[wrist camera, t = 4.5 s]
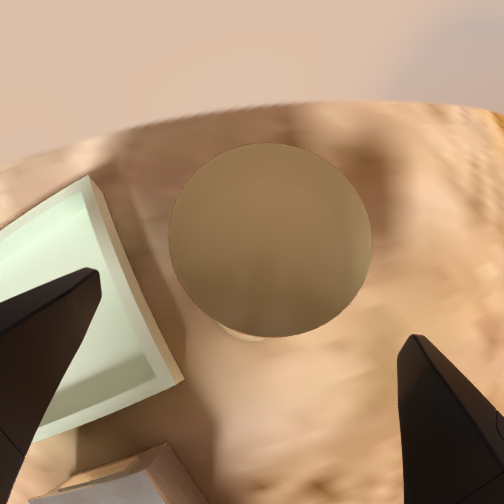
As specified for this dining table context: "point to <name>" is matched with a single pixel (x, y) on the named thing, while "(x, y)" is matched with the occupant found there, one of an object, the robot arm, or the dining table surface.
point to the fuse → (270, 240)
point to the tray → (106, 316)
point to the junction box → (130, 482)
